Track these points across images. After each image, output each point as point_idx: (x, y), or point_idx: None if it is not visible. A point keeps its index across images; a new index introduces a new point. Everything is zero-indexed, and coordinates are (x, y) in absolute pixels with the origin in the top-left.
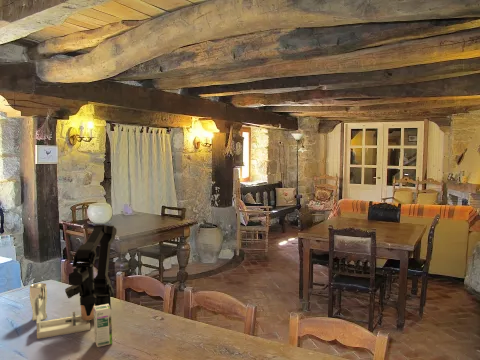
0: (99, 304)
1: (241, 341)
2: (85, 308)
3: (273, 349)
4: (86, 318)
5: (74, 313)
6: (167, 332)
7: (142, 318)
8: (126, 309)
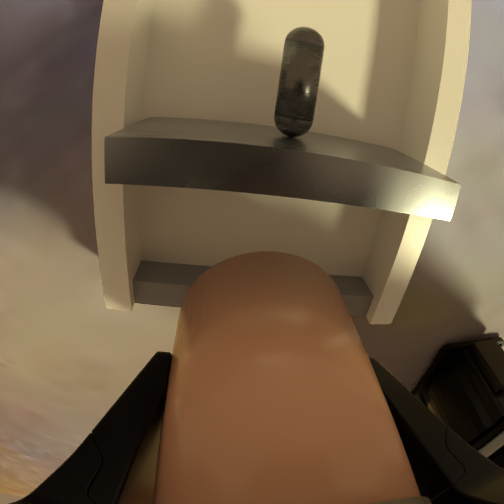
0: (465, 391)
1: (10, 485)
2: (78, 453)
3: None
4: (179, 315)
5: (397, 200)
6: (44, 465)
7: None
8: None
